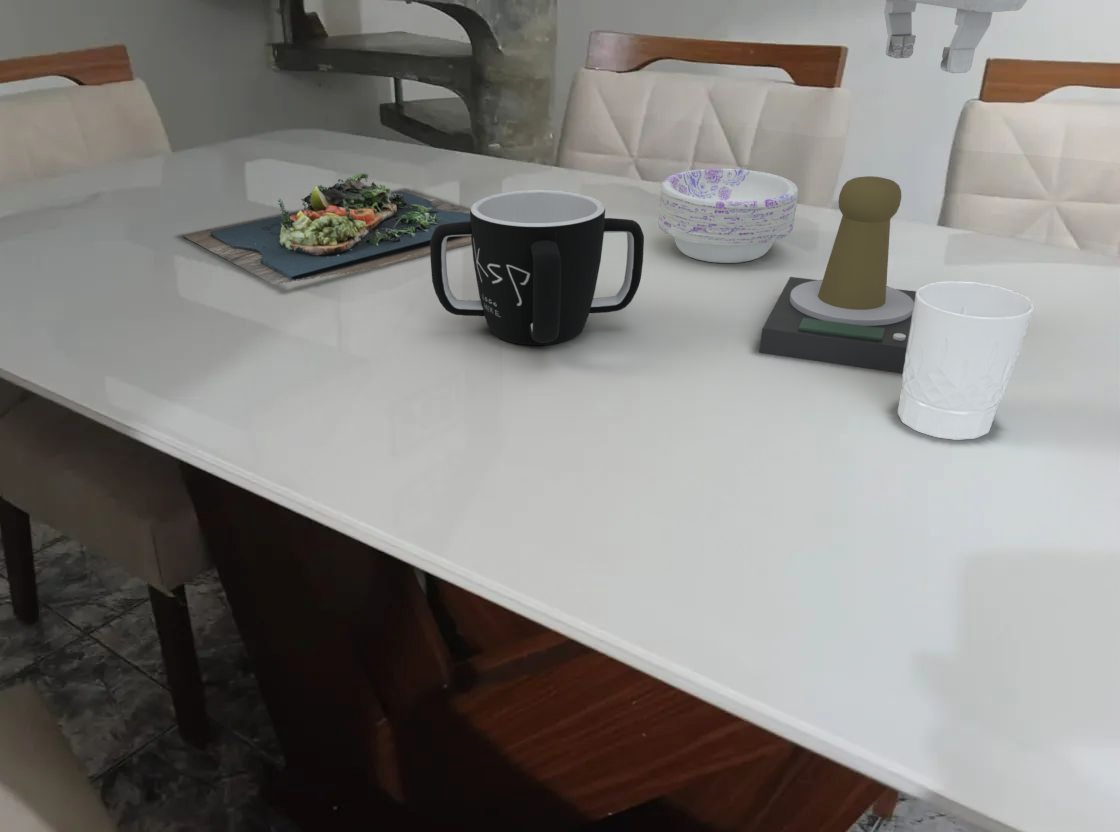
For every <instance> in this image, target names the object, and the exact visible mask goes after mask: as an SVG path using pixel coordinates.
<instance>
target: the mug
mask: <svg viewBox="0 0 1120 832" xmlns="http://www.w3.org/2000/svg"><path fill="white" fill-rule="evenodd" d="M469 210H470V221H467V222H457V223H449V224H443V225H440V226H438V227H437V228H436V229H435V230H434V232H433V235H432V237H431V241H430V255H429V256H430V272H431V280H432V281H431V282H432V286H433V289H434V292H435V295H436V297H437V299H438V301H439V303H440V304H441V306H442V307H443V308H444V309H445V311H447V312H448V313H450V314H452V315H454V316H455V315H456V316H463V317H464V316H465V317H484V319H485V321H486V324H487V328H488V329H489V330H490V332H491V333H492V334H493V335H494V336H496V337H498V338H499V339H502V340H504V341H507V342H510V343H514V344H518V345H525V346H527V345H528V346H546V345H553V344H554V345H555V344H560V343H563V342H566V341H569V340H572V339H573V338H574V337H576V336H578V335H580V334H581V333H582V332H583V330H584V328H585V326H586V324H587V321H588V318H589V315H590V314H602V313H603V314H604V313H612V312H614V313H615V312H618V311H621V310H623V309H626V307H628V305H629V304H630V303H631V302H632V301H633V299H634V297H635V296H636V294H637V292H638V290H639V288H640V287H639V286H640V284H641V279H642V275H643V274H642V271H643V264H644V250H645V249H644V247H645V235H644V232H643V229H642V227H641V225H640V223H638V222H637V221H635V220H634V219H627V218H616V217H615V218H613V217H606V208H605V205H604V204H603V203H602V202H601V201H600V200H597V199H596V198H594V197H591V196H589V195H585V194H583V193H576V192H571V191H567V190H566V191H565V190H555V189H553V190H552V189H526V190H525V189H523V190H512V191H507V192H501V193H496V194H492V195H489V196H486V197H484V198H480V199H478V200H477V201H476V202H475V203H473V204H472V205H471V207H470V209H469ZM607 233H611V234H612V233H613V234H614V233H626V240H627V250H626V265H625V272H624V280H623V282H622V285H621V287H620V289H619V291H618V292H617V294H615V295H611V296H606V297H605V296H603V297H595V291H596V288H597V282H598V277H599V272H600V266H601V262H602V253H603V245H604V237H605V236H604V235H605V234H607ZM451 236H471V240H472V244H471V251H472V260H473V261H472V262H473V267H474V272H475V273H474V274H475V277H476V284H477V290H478V295H479V300H464V299H463V300H462V299H457V298H456V296H455V295H454V294H453V293H452V290H451V288H450V283H449V277H448V266H447V250H446V245H447V238H448V237H451Z"/></svg>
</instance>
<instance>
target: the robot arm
mask: <svg viewBox="0 0 1120 832" xmlns="http://www.w3.org/2000/svg"><path fill="white" fill-rule="evenodd" d="M1027 1H1028V0H885V5H884V19H885V25H886V32H887V33H886V34H887V41H886V47H885V55H886V56H887V57H889V58H893V59H909V58H910V57H911V56H912V55H913V54H914V46H915V43H916V38H917V37H916V35H915V34H913V29H912V26H913V25H912V23H913V21H912V19H913V18H912V16H913V14H912V13H915V12H916V9H917V4H923V5H929V6H936V7H943V8H949V9H950V8H951V9H956V13H955V17H954V25H955V26H957V27H956V30H955V33H954V34H953V38H952V40H951V42H950V44H949V46H944V47H943V50H942V55H941V58H942V60H941V61H940V69H941V70H942V71H943V72H946V73H949V74H965V73H968V72H969V71H970V70H971V68H972V65H973V61H974V56H975V51H976V49H977V47H978V45H979V44H980V42H981V41H982V39H983V37H984V36H985V34H986V32H987V30H988V29H989V28H990V26H991V22H992V16H993V13H1002V12H1003V13H1004V12H1013V11H1014V12H1016V11H1019V10H1021V9H1022V8H1023V7H1024V6H1025V4H1026V3H1027Z"/></svg>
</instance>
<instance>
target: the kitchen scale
mask: <svg viewBox="0 0 1120 832" xmlns="http://www.w3.org/2000/svg"><path fill="white" fill-rule="evenodd" d="M822 281H823V279H813V278H805V277H804V278H803V277H794V276H790V277H789V278H788V280H787V282H786V283H785V286H784V287H783V290H782V291H781V293H780V295H779V297H778V299H777V300H776V302H775V304H774V306H773V308H772V310H771V311H770V314H769V315H768V317H767V319H766V321H765V323H764V324H763V327H762V328H761V335H760V343H759V350H758V351H759V353H760V354H765V355H773V356H779V357H786V358H792V359H799V360H800V359H801V360H807V361H814V362H821V363H827V364H835V365H841V366H849V367H854V368H861V369H869V370H876V371H883V372H890V373H895V374H902V375H903V369H904V364H905V354H906V348H907V342H908V336H909V331H910V325H911V319H912V313H913V307H914V301H915V295H916V291H917V290H916V291H915V290H908V289H899V288H894V287H892V286H889V285H886V301H885V304H884V305H883V306H881V307H878V308H875V309H867V310H853V309H845V308H839V307H835V306H832V305H829V304H826V303H824V302H823V301H821V300H820V299H819V297H818V294H819V290H820V287H821V284H822Z"/></svg>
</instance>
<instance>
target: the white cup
mask: <svg viewBox="0 0 1120 832" xmlns="http://www.w3.org/2000/svg"><path fill="white" fill-rule="evenodd" d="M1034 311H1035V303H1034V302H1033V301H1032V300H1031V299H1030V297H1028V296H1026V295H1024V294H1022V293H1021V292H1018V291H1016V290H1013V289H1010V288H1007V287H1003V286H1000V285H995V284H990V283H985V282H979V281H978V282H977V281H969V280H967V281H966V280H965V281H964V280H943V281H936V282H935V281H934V282H931V283H927V284H924V285H922V286H920V287H919V288H918V289H917V290H916V295H915V301H914V307H913V313H912V319H911V325H910V331H909V336H908V342H907V348H906V354H905V364H904V369H903V374H902V386H901V391H900V396H899V402H898V408H897V415H898V417H899V418H900V419H899V420H901V422H902V423H903V424H904V425H906V426H907V427H909V428H910V429H912V430H914V431H915V432H918V433H921V434H924V435H927V436H930V437H934V438H938V439H945V440H954V441H961V440H974V439H977V438H980V437H983V436H985V435H987V434H989V432H990V430H991V428H992V425H993V422H994V419H995V416H996V414H997V409H998V408H999V405H1000V402H1001V401H1002V400H1003V399H1004V396H1005V393H1006V390H1007V387H1008V385H1009V383H1010V380H1011V377H1012V373H1013V370H1014V368H1015V366H1016V364H1017V362H1018V361H1017V360H1018V357H1019V355H1020V352H1021V349H1022V345H1023V342H1024V339H1025V337H1026V333H1027V331H1028V328H1029V325H1030V323H1031V319H1032V317H1033V313H1034Z"/></svg>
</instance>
